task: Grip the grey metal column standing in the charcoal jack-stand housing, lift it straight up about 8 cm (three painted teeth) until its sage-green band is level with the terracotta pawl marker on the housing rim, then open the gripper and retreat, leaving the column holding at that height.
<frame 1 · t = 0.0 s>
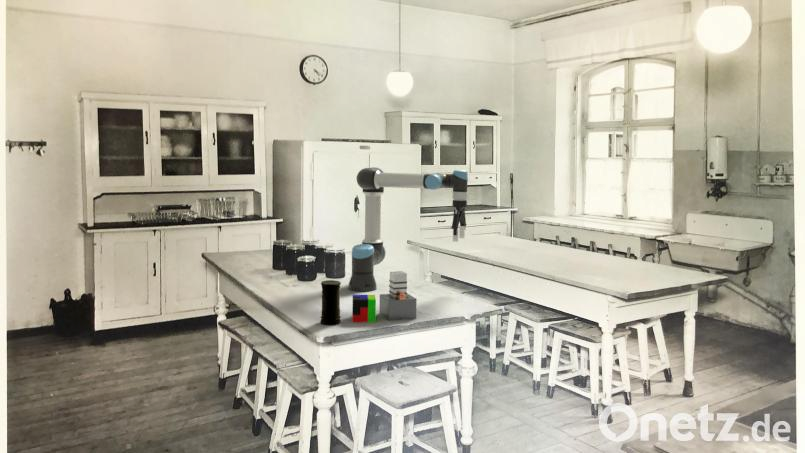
hand: (458, 239, 348), 28 cm above the table, fingers open, 13 cm apart
housing: (397, 316, 299), on the table
puzzle toy: (363, 319, 293), on the table
column: (397, 294, 298), point 10 cm above the table, slide at 0.0 cm
container: (330, 323, 286), on the table
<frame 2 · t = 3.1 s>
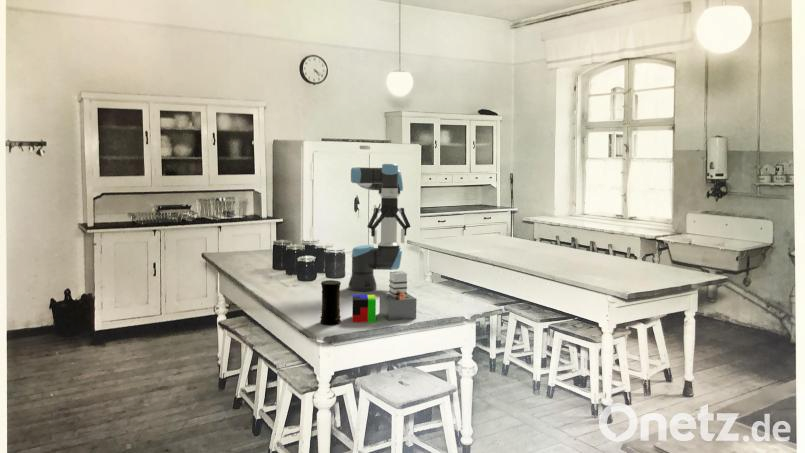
hand: (388, 243, 305), 32 cm above the table, fingers open, 13 cm apart
nothing on the table moved.
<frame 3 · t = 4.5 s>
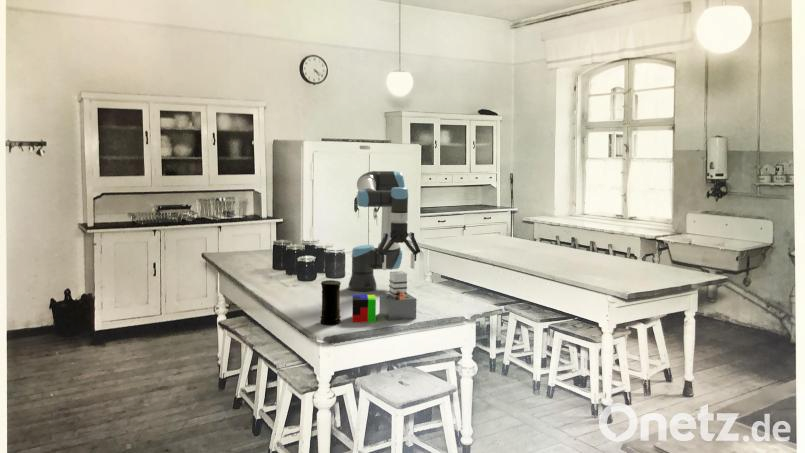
hand: (398, 269, 296), 22 cm above the table, fingers open, 13 cm apart
nothing on the table moved.
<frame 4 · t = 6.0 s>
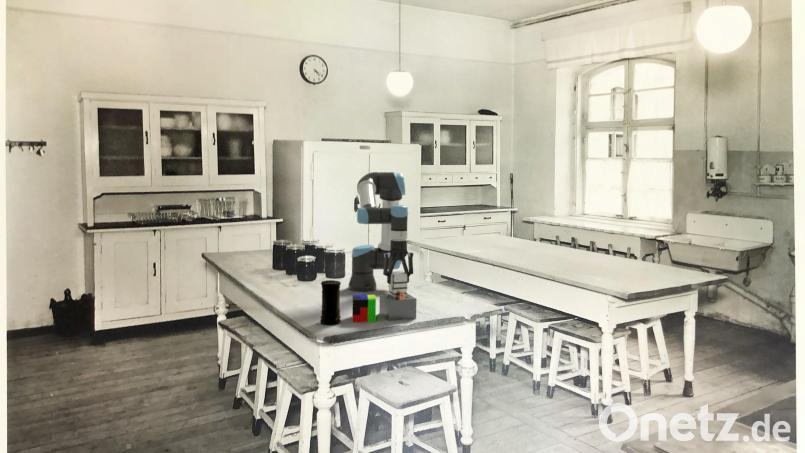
hand: (397, 290, 297), 12 cm above the table, fingers closed on column, 6 cm apart
column: (397, 294, 298), point 10 cm above the table, slide at 0.0 cm, touching gripper
everything else where it was.
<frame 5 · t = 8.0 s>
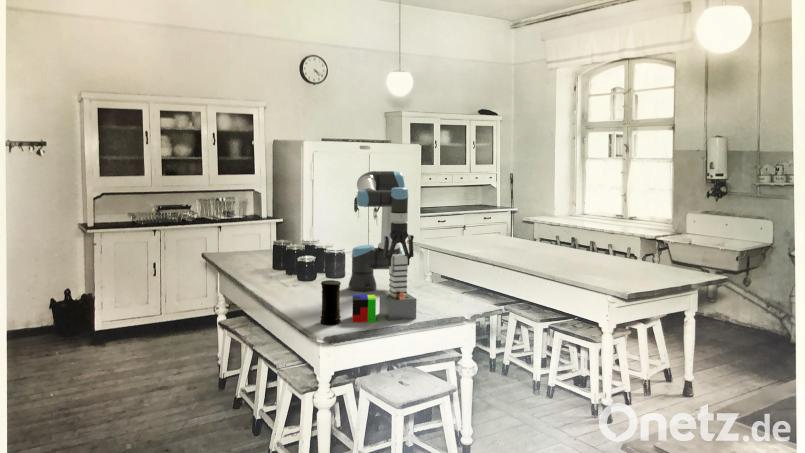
hand: (398, 272, 297), 20 cm above the table, fingers closed on column, 6 cm apart
column: (398, 277, 297), point 18 cm above the table, slide at 7.9 cm, touching gripper
everything else where it was.
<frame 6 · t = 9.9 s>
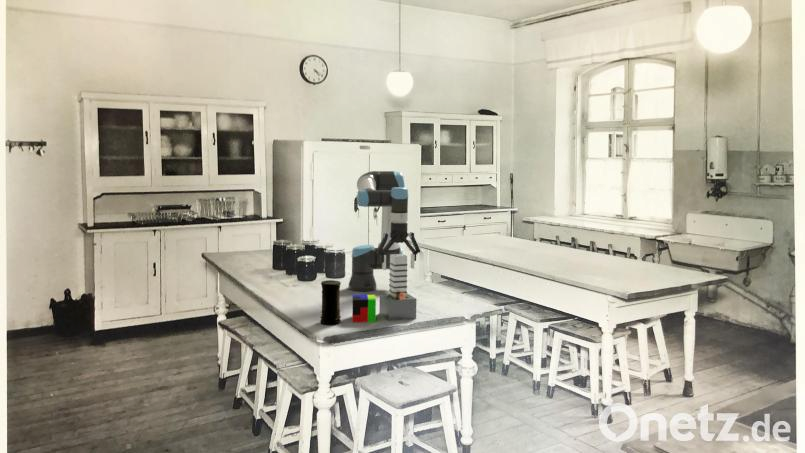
hand: (398, 269, 296), 22 cm above the table, fingers open, 13 cm apart
column: (398, 277, 297), point 18 cm above the table, slide at 8.0 cm
everything else where it was.
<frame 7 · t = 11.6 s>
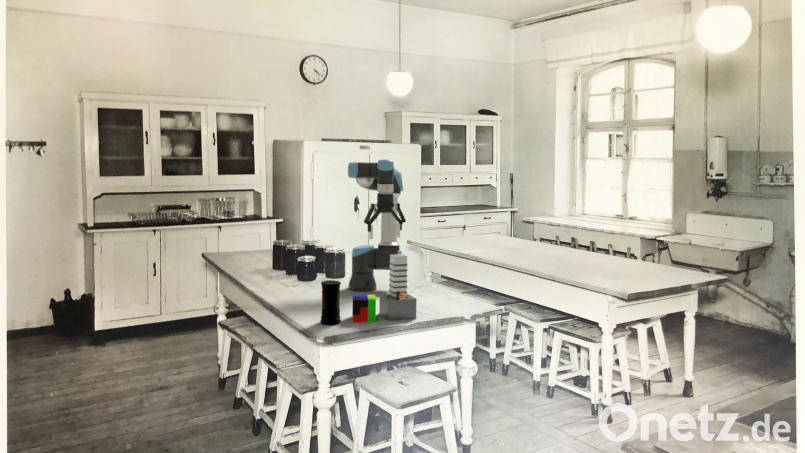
hand: (384, 238, 309), 34 cm above the table, fingers open, 13 cm apart
nothing on the table moved.
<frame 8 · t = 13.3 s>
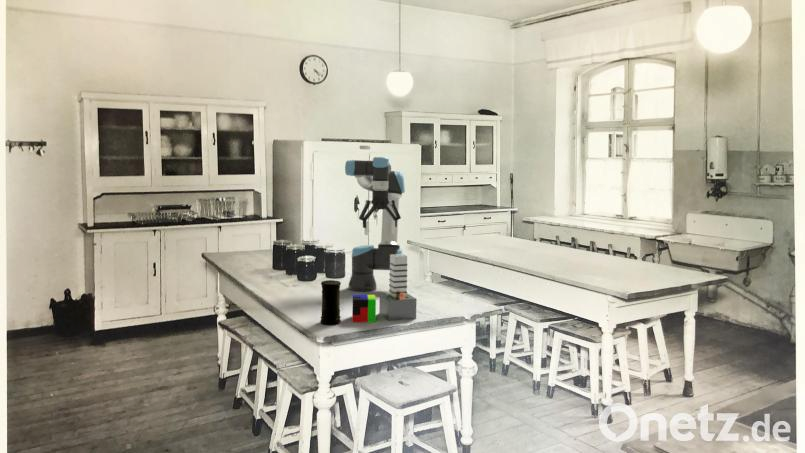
hand: (379, 234, 314), 35 cm above the table, fingers open, 13 cm apart
nothing on the table moved.
at the end: column slide at 8.0 cm; the gripper is holding nothing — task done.
